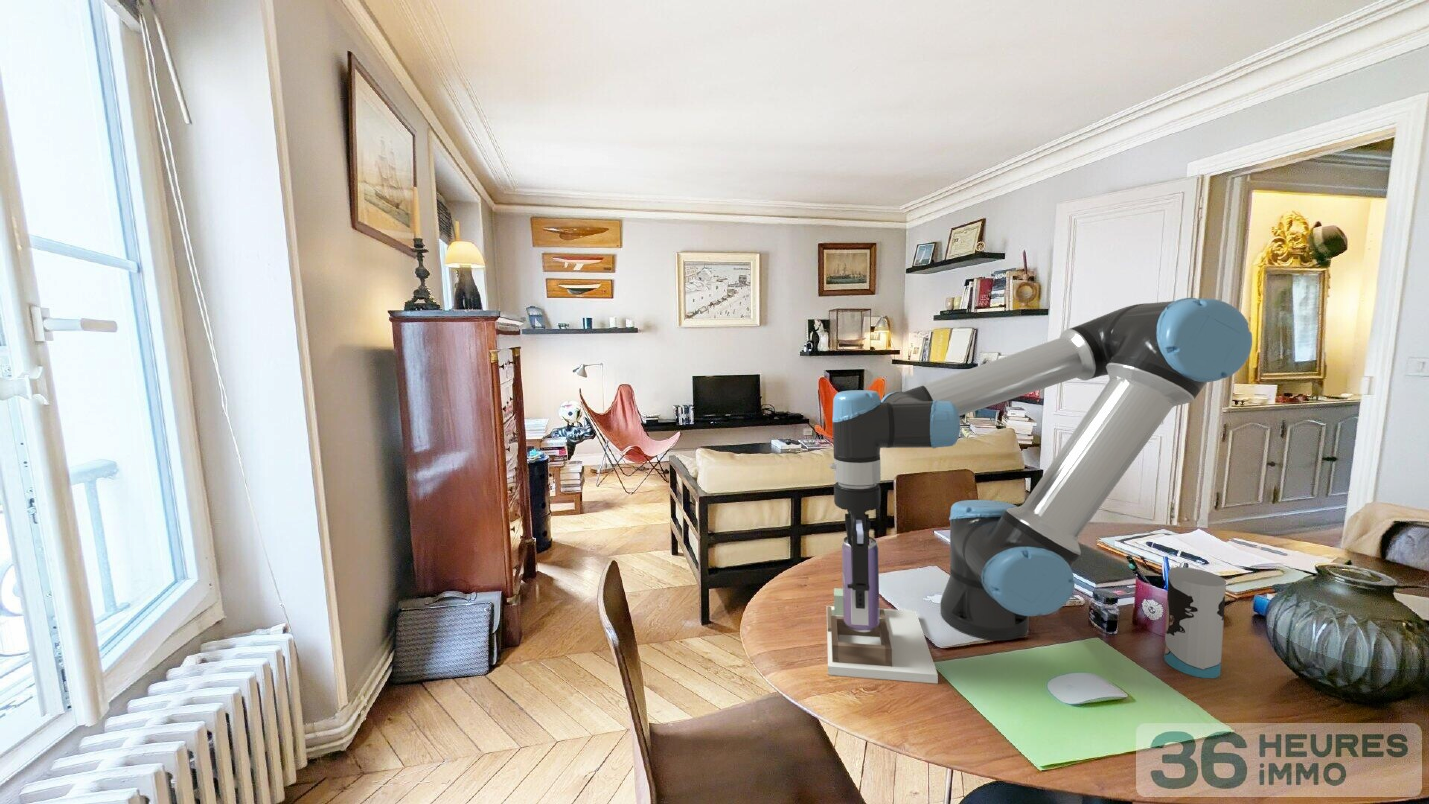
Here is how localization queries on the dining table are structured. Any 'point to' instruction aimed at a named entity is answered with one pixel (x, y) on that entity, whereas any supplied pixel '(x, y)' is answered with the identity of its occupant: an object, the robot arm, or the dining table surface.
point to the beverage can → (873, 583)
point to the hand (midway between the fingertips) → (858, 613)
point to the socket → (860, 645)
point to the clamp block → (838, 601)
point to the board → (906, 650)
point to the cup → (1194, 621)
